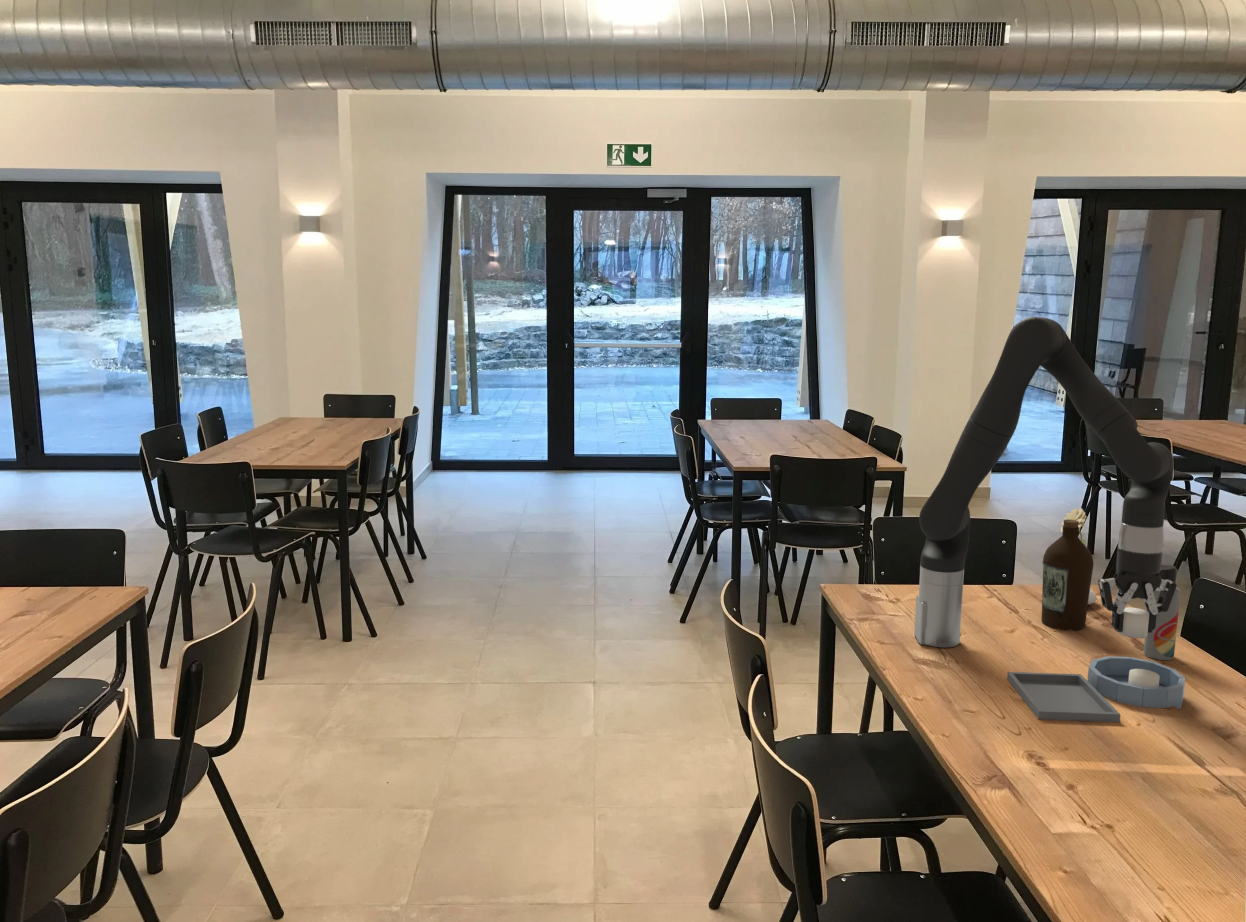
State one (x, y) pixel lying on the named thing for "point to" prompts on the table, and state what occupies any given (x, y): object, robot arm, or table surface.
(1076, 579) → the olive oil
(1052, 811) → the table surface
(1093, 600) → the flower in vase
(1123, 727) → the table surface
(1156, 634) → the lotion bottle
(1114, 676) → the bowl
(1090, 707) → the parts tray
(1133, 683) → the white marshmallow
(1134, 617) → the marshmallow
